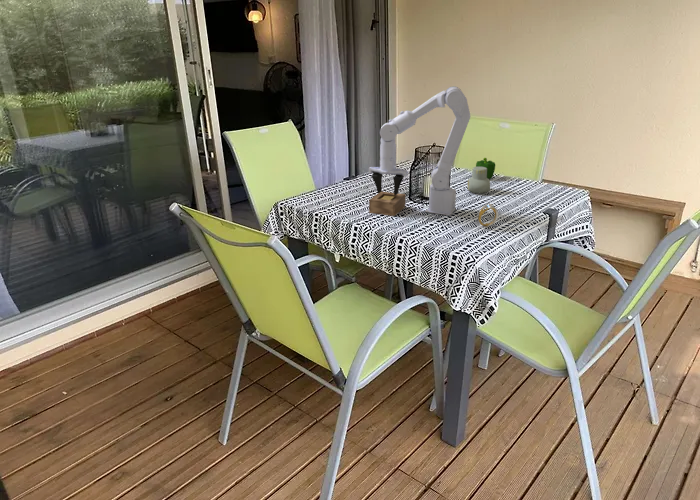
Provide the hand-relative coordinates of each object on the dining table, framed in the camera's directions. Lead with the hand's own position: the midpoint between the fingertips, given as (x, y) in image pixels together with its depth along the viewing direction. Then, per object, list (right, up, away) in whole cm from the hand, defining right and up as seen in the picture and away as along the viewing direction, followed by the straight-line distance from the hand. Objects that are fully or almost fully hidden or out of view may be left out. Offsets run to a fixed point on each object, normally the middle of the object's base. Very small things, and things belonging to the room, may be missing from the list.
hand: (387, 193), depth 191 cm
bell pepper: (+46, +11, +40) cm, 62 cm away
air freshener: (+39, +3, +22) cm, 45 cm away
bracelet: (+33, -13, -16) cm, 39 cm away
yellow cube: (0, -5, +2) cm, 6 cm away
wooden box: (0, -6, +2) cm, 6 cm away
